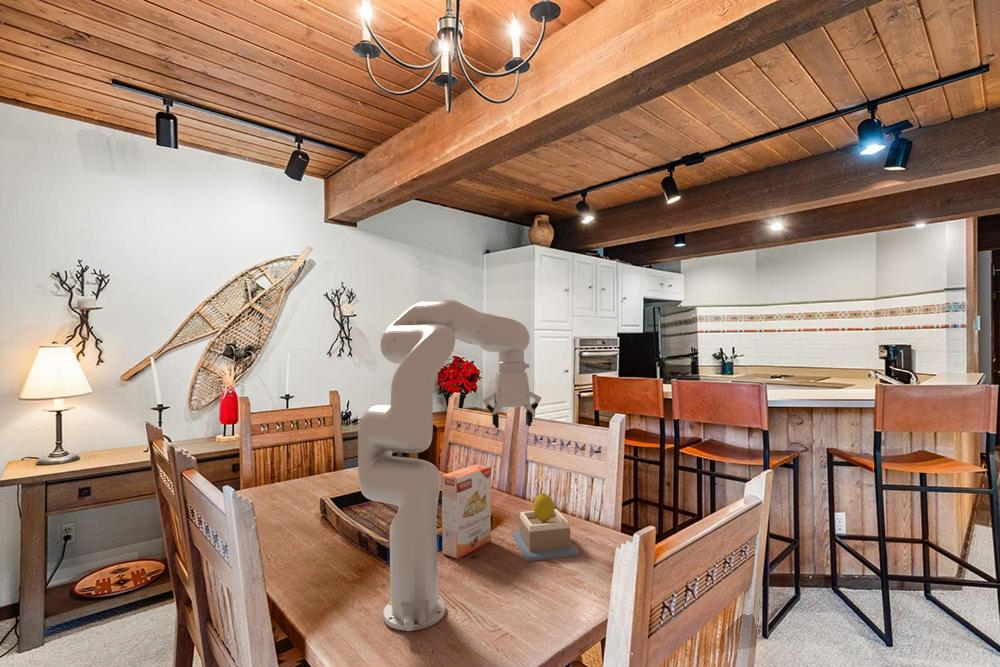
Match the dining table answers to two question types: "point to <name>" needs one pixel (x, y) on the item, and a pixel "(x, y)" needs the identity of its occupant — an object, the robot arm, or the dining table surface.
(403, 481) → the robot arm
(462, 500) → the cracker box
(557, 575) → the dining table surface
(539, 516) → the lemon
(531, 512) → the stand
